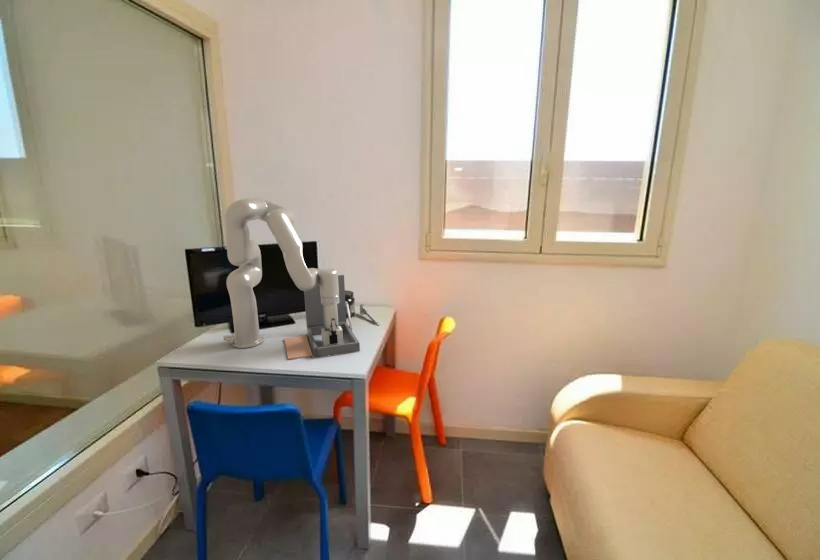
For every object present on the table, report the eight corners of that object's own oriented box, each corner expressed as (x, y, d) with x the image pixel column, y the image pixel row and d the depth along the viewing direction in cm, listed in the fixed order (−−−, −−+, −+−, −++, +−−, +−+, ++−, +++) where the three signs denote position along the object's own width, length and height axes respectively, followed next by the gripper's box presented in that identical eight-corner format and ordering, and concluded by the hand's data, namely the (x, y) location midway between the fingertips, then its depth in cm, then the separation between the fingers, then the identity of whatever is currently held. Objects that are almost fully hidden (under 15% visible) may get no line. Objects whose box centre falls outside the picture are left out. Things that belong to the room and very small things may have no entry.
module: (323, 346, 164) (322, 332, 162) (322, 341, 168) (321, 327, 167) (343, 343, 166) (342, 329, 165) (340, 339, 171) (340, 325, 169)
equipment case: (315, 357, 153) (310, 293, 147) (307, 334, 177) (303, 278, 171) (362, 350, 159) (360, 288, 153) (348, 328, 183) (346, 274, 177)
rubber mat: (288, 360, 151) (288, 358, 151) (284, 339, 171) (284, 338, 171) (312, 356, 154) (312, 354, 154) (306, 336, 174) (306, 335, 174)
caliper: (360, 314, 204) (359, 302, 202) (361, 314, 204) (361, 302, 203) (377, 326, 187) (377, 313, 185) (379, 325, 187) (379, 312, 186)
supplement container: (329, 316, 201) (328, 293, 198) (345, 311, 209) (344, 288, 206) (343, 320, 194) (342, 296, 191) (359, 315, 202) (358, 292, 199)
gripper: (317, 295, 169) (320, 335, 174) (323, 306, 154) (326, 350, 158) (335, 293, 172) (337, 333, 176) (343, 304, 156) (345, 347, 161)
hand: (332, 340), depth 167 cm, fingers closed on module, 5 cm apart
